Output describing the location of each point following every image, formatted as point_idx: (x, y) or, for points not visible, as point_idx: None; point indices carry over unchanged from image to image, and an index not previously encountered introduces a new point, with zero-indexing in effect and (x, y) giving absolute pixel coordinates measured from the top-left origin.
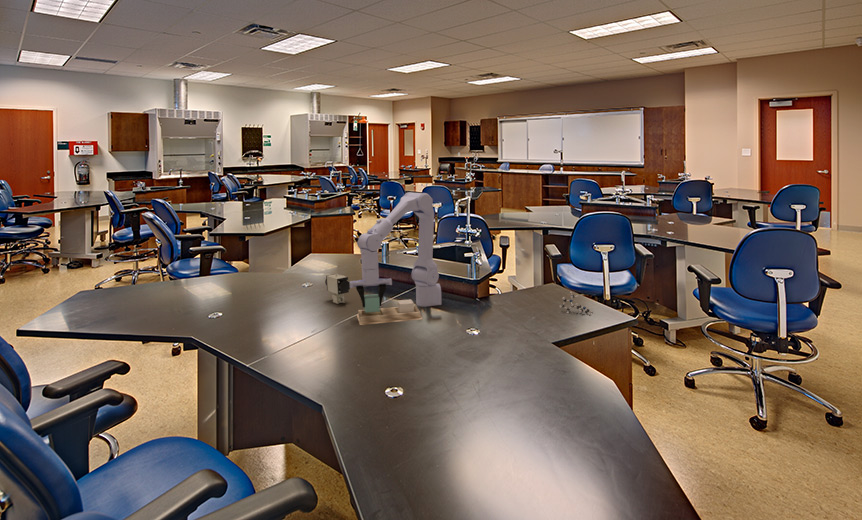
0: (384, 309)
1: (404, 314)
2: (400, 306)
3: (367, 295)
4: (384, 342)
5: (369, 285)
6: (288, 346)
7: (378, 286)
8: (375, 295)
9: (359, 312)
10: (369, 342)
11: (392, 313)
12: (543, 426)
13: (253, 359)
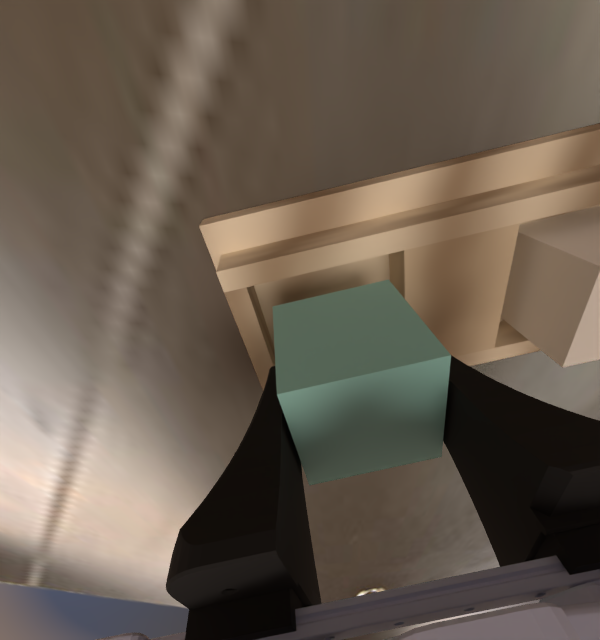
0: (431, 260)
1: (527, 350)
2: (552, 354)
3: (328, 406)
4: (370, 483)
5: (403, 605)
6: (53, 522)
7: (527, 524)
8: (417, 404)
9: (240, 322)
10: (322, 486)
11: (464, 344)
12: (514, 604)
13: (16, 572)
